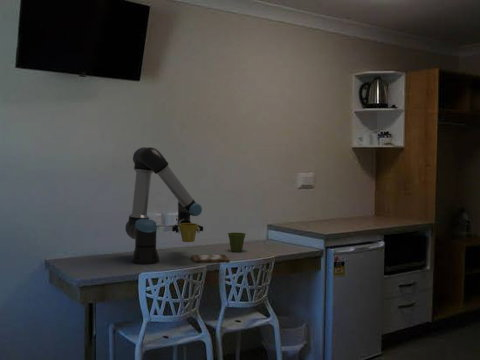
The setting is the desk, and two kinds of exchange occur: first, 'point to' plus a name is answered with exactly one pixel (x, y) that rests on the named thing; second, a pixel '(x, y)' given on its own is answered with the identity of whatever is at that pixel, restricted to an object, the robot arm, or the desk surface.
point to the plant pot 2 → (236, 241)
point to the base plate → (209, 258)
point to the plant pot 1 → (188, 231)
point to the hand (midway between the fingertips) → (189, 230)
